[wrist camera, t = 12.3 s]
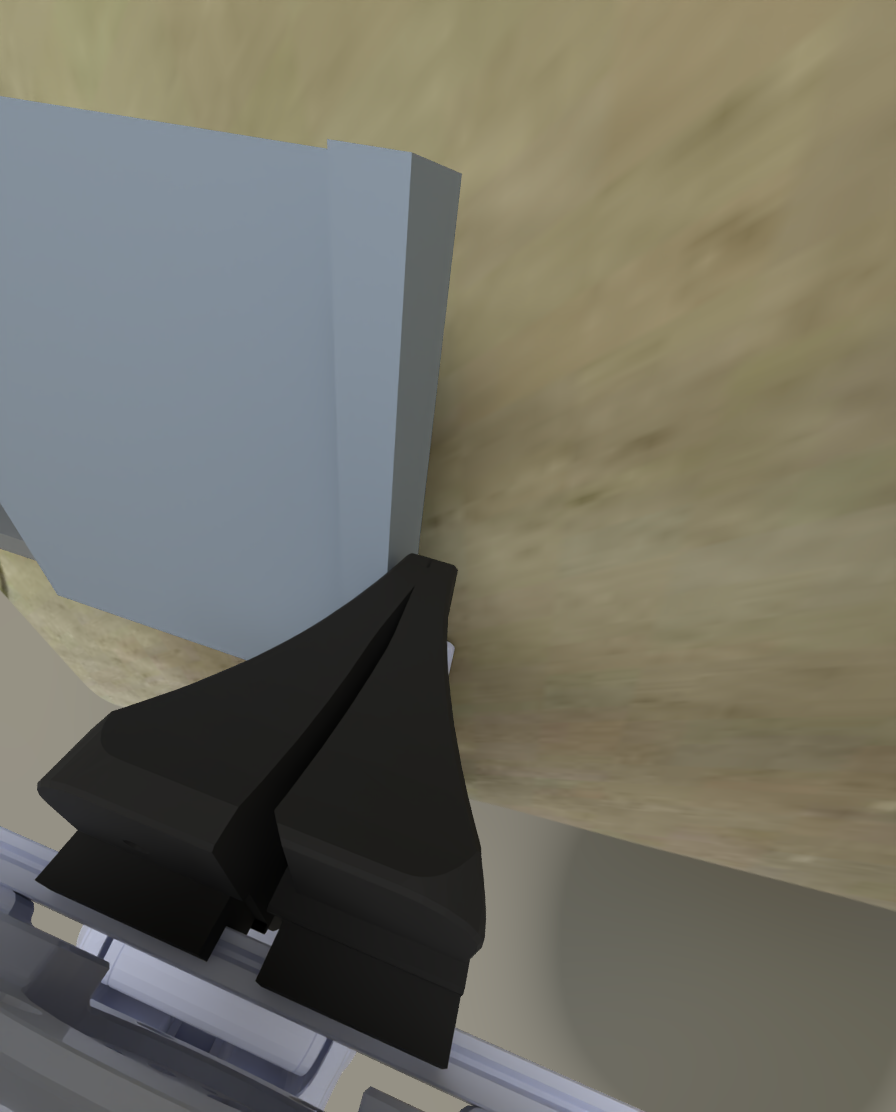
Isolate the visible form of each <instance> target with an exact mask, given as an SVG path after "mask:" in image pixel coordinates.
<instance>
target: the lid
mask: <svg viewBox="0 0 896 1112" xmlns="http://www.w3.org/2000/svg"><path fill="white" fill-rule="evenodd" d="M327 145H328V149H325V148H319V147H313V146H306V145H300V144H294V143H288V142H282V141H275V140H269V139H263V138H257V137H251V136H244V135H238V134H232V133H226V132H219V131H213V130H207V129H201V128H195V127H188V126H182V125H176V124H170V123H164V122H157V121H151V120H145V119H139V118H133V117H126V116H120V115H114V114H108V113H102V112H95V111H89V110H83V109H77V108H71V107H64V106H58V105H52V104H46V103H39V102H33V101H27V100H21V99H15V98H8V97H2V96H0V503H1V505H2V507H3V508H4V510H5V511H6V513H7V515H8V516H9V518H10V519H11V521H12V523H13V524H14V526H15V527H16V529H17V531H18V532H19V534H20V535H21V537H22V539H23V540H24V542H25V543H26V545H27V547H28V548H29V550H30V551H31V553H32V555H33V556H34V558H35V559H36V561H37V563H38V564H39V566H40V567H41V569H42V571H43V572H44V574H45V575H46V577H47V579H48V580H49V582H50V583H51V585H52V587H53V588H54V590H55V591H56V593H57V595H59V596H62V597H65V598H68V599H71V600H74V601H77V602H79V603H82V604H85V605H88V606H91V607H94V608H97V609H100V610H103V611H105V612H108V613H111V614H114V615H117V616H120V617H123V618H126V619H129V620H132V621H134V622H137V623H140V624H143V625H146V626H149V627H152V628H155V629H158V630H161V631H163V632H166V633H169V634H172V635H175V636H178V637H181V638H184V639H187V640H189V641H192V642H195V643H198V644H201V645H204V646H207V647H210V648H213V649H216V650H218V651H221V652H224V653H227V654H230V655H233V656H236V657H239V658H242V659H244V660H249V659H251V658H253V657H255V656H257V655H259V654H261V653H263V652H265V651H267V650H269V649H271V648H273V647H275V646H277V645H279V644H281V643H283V642H285V641H287V640H289V639H290V638H292V637H294V636H296V635H298V634H299V633H301V632H303V631H305V630H306V629H308V628H310V627H311V626H313V625H315V624H316V623H318V622H319V621H321V620H323V619H324V618H326V617H327V616H329V615H330V614H332V613H333V612H335V611H336V610H338V609H339V608H341V607H342V606H344V605H345V604H347V603H348V602H349V601H351V600H352V599H354V598H355V597H356V596H358V595H359V594H360V593H362V592H363V591H364V590H366V589H367V588H368V587H370V586H371V585H372V584H374V583H375V582H376V581H377V580H379V579H380V578H381V577H382V576H384V575H385V574H386V573H387V572H388V571H390V570H391V569H392V568H393V567H394V566H396V565H397V564H398V563H399V562H400V561H401V560H402V559H404V558H405V557H406V556H407V555H409V554H411V553H414V554H417V555H418V549H419V541H420V532H421V523H422V515H423V506H424V497H425V489H426V480H427V471H428V463H429V454H430V445H431V437H432V428H433V419H434V411H435V402H436V393H437V385H438V376H439V367H440V359H441V350H442V341H443V333H444V324H445V315H446V307H447V298H448V289H449V281H450V272H451V263H452V255H453V246H454V237H455V229H456V220H457V211H458V203H459V194H460V185H461V177H462V174H461V173H459V172H456V171H454V170H452V169H449V168H447V167H445V166H442V165H440V164H438V163H435V162H433V161H431V160H428V159H426V158H424V157H421V156H419V155H417V154H414V153H412V152H405V151H399V150H393V149H386V148H380V147H374V146H367V145H361V144H355V143H348V142H342V141H336V140H329V139H327Z"/></svg>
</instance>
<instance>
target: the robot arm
mask: <svg viewBox="0 0 896 1112" xmlns="http://www.w3.org/2000/svg"><path fill="white" fill-rule="evenodd" d="M457 571H458V570H457V568H456V567H455V566H454V565H451V564H448V563H445V562H441V561H438V560H434V559H431V558H428V557H424V556H421V555H417V554H414V553H411V554H409V555H407V556H406V557H405V558H404V559H402V560H401V561H400V562H399V563H398V564H397V565H396V566H394V567H393V568H392V569H391V570H390V571H388V572H387V573H386V574H385V575H384V576H382V577H381V578H380V579H379V580H377V581H376V582H375V583H374V584H372V585H371V586H370V587H368V588H367V589H366V590H364V591H363V592H362V593H360V594H359V595H358V596H356V597H355V598H354V599H352V600H351V601H349V602H348V603H347V604H345V605H344V606H342V607H341V608H339V609H338V610H336V611H335V612H333V613H332V614H330V615H329V616H327V617H326V618H324V619H323V620H321V621H319V622H318V623H316V624H315V625H313V626H311V627H310V628H308V629H306V630H305V631H303V632H301V633H299V634H298V635H296V636H294V637H292V638H290V639H289V640H287V641H285V642H283V643H281V644H279V645H277V646H275V647H273V648H271V649H269V650H267V651H265V652H263V653H261V654H259V655H257V656H255V657H253V658H251V659H249V660H247V661H245V662H243V663H240V664H238V665H236V666H234V667H231V668H229V669H226V670H224V671H222V672H219V673H217V674H214V675H212V676H210V677H207V678H205V679H202V680H200V681H198V682H195V683H193V684H190V685H188V686H185V687H182V688H180V689H177V690H174V691H171V692H168V693H165V694H162V695H159V696H157V697H154V698H151V699H148V700H145V701H142V702H139V703H136V704H133V705H130V706H127V707H124V708H122V709H118V710H115V711H112V712H111V713H110V714H108V715H107V716H106V717H105V718H104V719H103V720H102V721H100V722H99V723H98V724H97V725H96V726H95V727H94V728H92V729H91V730H90V731H89V732H88V733H87V734H86V735H85V736H84V737H83V738H82V739H81V740H80V741H79V742H78V743H77V744H76V745H75V746H74V747H73V748H72V749H71V750H70V751H69V752H68V753H67V754H66V755H65V756H64V757H63V758H62V759H61V760H60V761H59V762H58V763H57V764H56V765H55V766H54V767H53V768H52V769H51V770H50V771H49V772H48V773H47V774H46V775H45V776H44V777H43V778H42V779H41V780H40V781H39V782H38V785H37V790H38V793H39V795H40V796H41V797H42V798H43V799H44V800H45V801H46V802H47V803H48V804H49V805H50V806H51V807H52V808H53V809H54V810H56V811H57V812H58V813H59V814H60V815H61V816H63V818H65V819H66V820H67V821H68V822H69V823H70V824H71V825H73V826H74V827H75V828H76V829H77V830H78V831H77V832H76V833H75V834H74V835H73V836H72V838H71V839H70V840H69V841H68V842H67V843H66V844H65V846H64V847H63V848H62V849H61V850H60V851H59V852H58V851H55V850H53V849H51V848H48V847H46V846H44V845H42V844H40V843H37V842H35V841H33V840H30V839H28V838H26V837H24V836H21V835H19V834H17V833H14V832H12V831H10V830H8V829H6V828H3V827H1V826H0V1112H325V1111H324V1108H325V1106H326V1104H327V1102H328V1100H329V1098H330V1095H331V1093H332V1091H333V1089H334V1087H335V1085H336V1083H337V1081H338V1079H339V1077H340V1076H341V1074H342V1072H343V1071H344V1070H345V1069H346V1068H347V1066H348V1065H349V1064H350V1062H351V1061H352V1059H353V1058H354V1056H355V1054H356V1052H359V1053H361V1054H363V1055H365V1056H367V1057H369V1058H371V1059H374V1060H376V1061H378V1062H380V1063H382V1064H384V1065H387V1066H389V1067H391V1068H393V1069H395V1070H397V1071H399V1072H402V1073H404V1074H406V1075H408V1076H410V1077H412V1078H414V1079H417V1080H419V1081H421V1082H423V1083H426V1084H427V1085H430V1086H432V1087H434V1088H436V1089H438V1090H440V1091H443V1092H445V1093H447V1094H449V1095H451V1096H453V1097H455V1098H457V1099H460V1100H462V1101H464V1102H466V1103H468V1104H470V1105H473V1106H466V1107H464V1108H463V1109H461V1110H460V1112H645V1111H643V1110H641V1109H638V1108H636V1107H634V1106H632V1105H629V1104H627V1103H625V1102H623V1101H620V1100H618V1099H616V1098H614V1097H611V1096H609V1095H607V1094H604V1093H602V1092H600V1091H598V1090H595V1089H593V1088H591V1087H589V1086H586V1085H584V1084H582V1083H580V1082H577V1081H575V1080H573V1079H571V1078H568V1077H566V1076H564V1075H562V1074H559V1073H557V1072H555V1071H553V1070H550V1069H548V1068H546V1067H544V1066H541V1065H539V1064H537V1063H534V1062H532V1061H530V1060H528V1059H525V1058H523V1057H521V1056H519V1055H516V1054H514V1053H512V1052H510V1051H507V1050H505V1049H503V1048H501V1047H498V1046H496V1045H494V1044H492V1043H489V1042H487V1041H485V1040H483V1039H480V1038H478V1037H476V1036H473V1035H471V1034H469V1033H467V1032H464V1031H462V1030H460V1029H458V1028H455V1024H456V1019H457V1014H458V1008H459V1003H460V997H461V996H462V995H463V993H464V989H465V984H466V978H467V973H468V967H469V962H470V959H471V958H472V957H473V956H474V955H475V954H476V953H477V952H478V951H479V950H480V949H481V948H482V945H483V942H484V938H485V925H486V906H485V890H484V878H483V869H482V858H481V846H480V842H479V838H478V834H477V830H476V827H475V823H474V819H473V815H472V810H471V807H470V803H469V798H468V794H467V789H466V785H465V780H464V775H463V771H462V766H461V761H460V755H459V749H458V744H457V738H456V732H455V727H454V720H453V713H452V705H451V696H450V686H449V672H450V668H451V664H452V659H453V655H454V650H455V649H454V646H453V645H452V644H451V643H450V642H448V641H447V628H448V615H449V610H450V605H451V601H452V596H453V591H454V586H455V581H456V576H457ZM31 900H32V901H34V902H36V903H38V904H40V905H42V906H44V907H47V908H49V909H51V910H53V911H56V912H57V913H59V914H62V915H64V916H66V917H68V918H70V919H72V920H75V921H77V922H79V923H81V924H83V926H82V929H81V931H80V933H79V936H78V939H77V944H76V946H74V945H72V944H70V943H68V942H65V941H63V940H61V939H59V938H57V937H55V936H53V935H51V934H48V933H46V932H44V931H42V930H40V929H38V928H35V927H34V926H33V925H32V923H31V917H32V914H33V912H34V903H33V902H32V901H31ZM358 1112H424V1111H422V1110H420V1109H418V1108H416V1107H413V1106H411V1105H409V1104H407V1103H405V1102H403V1101H401V1100H398V1099H397V1098H394V1097H392V1096H390V1095H388V1094H386V1093H384V1092H382V1091H379V1090H377V1089H375V1088H373V1087H369V1088H368V1089H367V1090H365V1092H364V1093H363V1096H362V1100H361V1104H360V1108H359V1111H358Z"/></svg>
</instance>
